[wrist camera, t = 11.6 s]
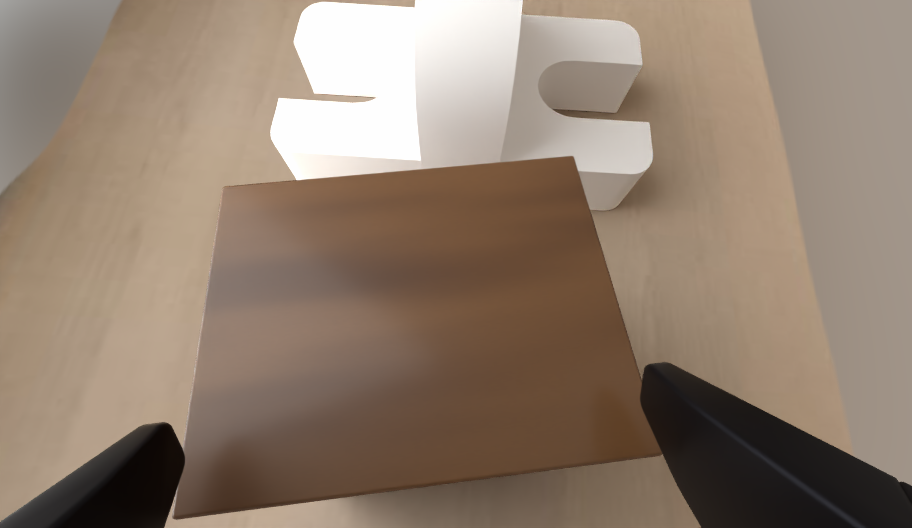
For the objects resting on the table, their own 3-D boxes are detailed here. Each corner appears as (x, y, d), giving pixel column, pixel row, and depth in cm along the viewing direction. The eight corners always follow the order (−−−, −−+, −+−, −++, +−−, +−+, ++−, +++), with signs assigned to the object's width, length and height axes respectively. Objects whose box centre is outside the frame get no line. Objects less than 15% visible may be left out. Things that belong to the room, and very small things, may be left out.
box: (665, 455, 9) (574, 154, 12) (169, 520, 8) (221, 185, 12) (552, 460, 19) (519, 294, 22) (324, 490, 18) (328, 314, 21)
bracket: (292, 190, 24) (167, 6, 13) (323, 54, 27) (243, -178, 17) (624, 212, 24) (768, 44, 13) (612, 73, 27) (719, -148, 17)
